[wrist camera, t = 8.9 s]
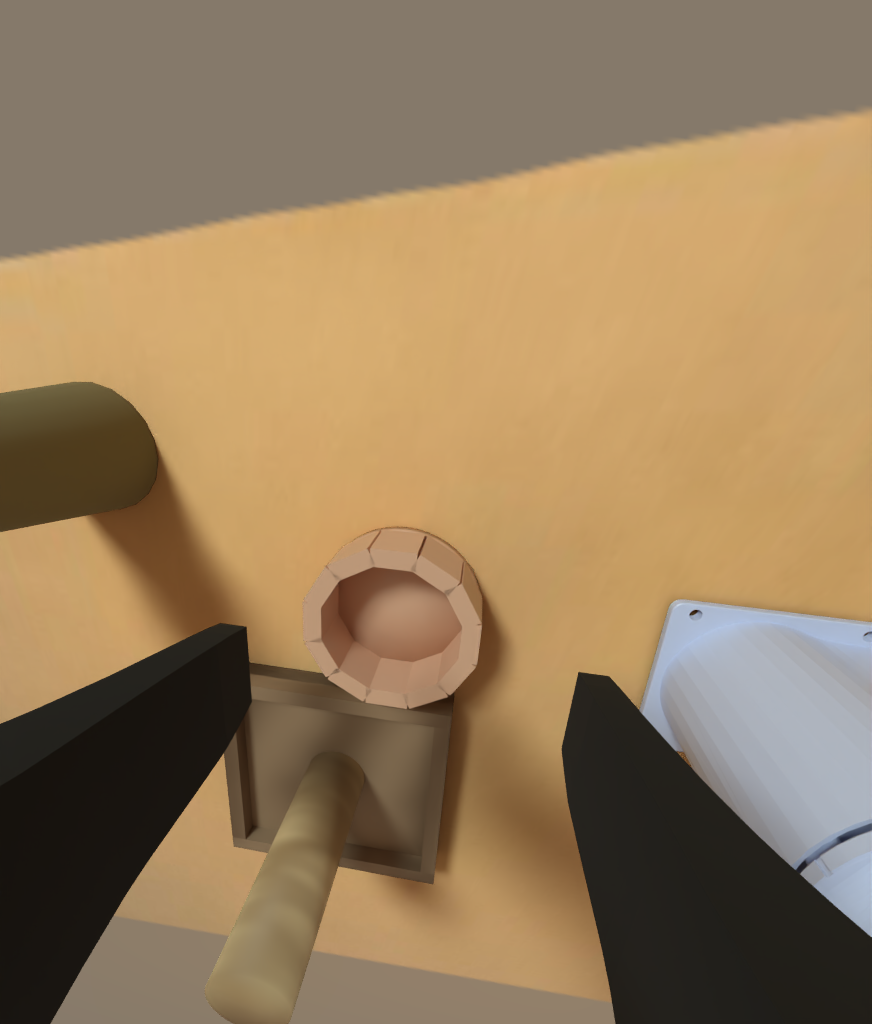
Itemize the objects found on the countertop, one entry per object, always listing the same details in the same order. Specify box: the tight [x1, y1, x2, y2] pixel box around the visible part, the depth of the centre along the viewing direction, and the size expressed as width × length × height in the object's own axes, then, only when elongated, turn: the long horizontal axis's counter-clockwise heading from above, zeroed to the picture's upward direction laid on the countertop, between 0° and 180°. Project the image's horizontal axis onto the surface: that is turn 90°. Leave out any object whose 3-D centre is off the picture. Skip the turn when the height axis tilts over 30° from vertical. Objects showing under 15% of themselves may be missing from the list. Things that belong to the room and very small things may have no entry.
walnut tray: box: [224, 663, 454, 884], centre depth 23 cm, size 12×12×2 cm
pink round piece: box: [303, 527, 483, 709], centre depth 19 cm, size 8×8×3 cm
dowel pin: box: [205, 751, 365, 1024], centre depth 19 cm, size 3×3×9 cm
